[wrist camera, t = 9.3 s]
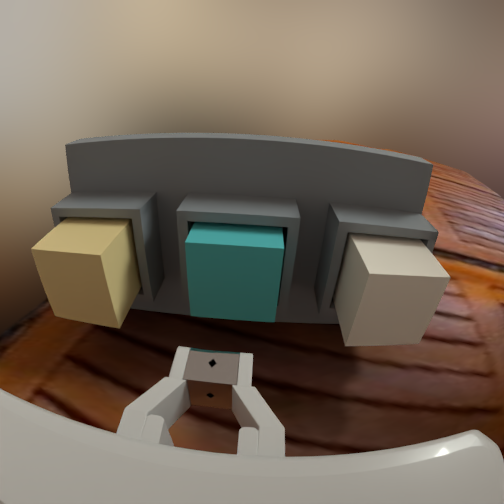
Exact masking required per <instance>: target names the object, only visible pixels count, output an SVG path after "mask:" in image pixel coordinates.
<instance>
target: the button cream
mask: <svg viewBox="0 0 504 504" xmlns="http://www.w3.org/2000/svg"><path fill="white" fill-rule="evenodd" d="M449 280H450V276H449V275H448V273H447V272H446V271H445V270H444V268H443V267H442V266H441V264H440V263H439V262H438V261H437V259H436V258H435V257H434V256H433V254H432V253H431V252H430V251H429V249H428V248H427V247H426V246H425V245H424V243H423V242H422V241H421V240H420V239H416V238H407V237H396V236H386V235H375V234H365V233H353V232H348V234H347V239H346V244H345V248H344V253H343V257H342V261H341V266H340V270H339V274H338V278H337V282H336V286H335V290H334V294H333V301H334V304H335V308H336V312H337V316H338V320H339V324H340V328H341V332H342V336H343V340H344V344H345V346H384V345H407V344H419V342H420V340H421V338H422V336H423V334H424V332H425V331H426V329H427V327H428V325H429V323H430V321H431V319H432V317H433V315H434V313H435V311H436V309H437V306H438V304H439V302H440V300H441V298H442V296H443V293H444V291H445V289H446V287H447V284H448V282H449Z"/></svg>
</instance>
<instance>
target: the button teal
mask: <svg viewBox="0 0 504 504" xmlns="http://www.w3.org/2000/svg"><path fill="white" fill-rule="evenodd" d="M185 251H186V266H187V279H188V291H189V302H190V313H191V316H197V317H207V318H219V319H231V320H245V321H260V322H275V316H276V309H277V302H278V294H279V286H280V279H281V271H282V263H283V255H284V242H283V232H282V227H277V226H263V225H247V224H231V223H214V222H196V221H195V222H194V224H193V227H192V229H191V231H190V233H189V235H188V237H187V239H186V241H185Z"/></svg>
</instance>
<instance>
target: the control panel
mask: <svg viewBox="0 0 504 504" xmlns="http://www.w3.org/2000/svg"><path fill="white" fill-rule="evenodd" d="M65 146H66V156H67V164H68V173H69V180H70V187H71V194H70V195H68V196H67V197H65V198H64V199H62V200H61V201H60V202H59V203H57V204H56V205H54V206H53V207H52V208H51V212H52V217H53V221H54V226H55V227H56V226H57V225H59V224H60V223H61V222H62V221H63V220H65V219H66V218H67V217H100V218H130V219H132V224H133V231H134V239H135V246H136V252H137V259H138V265H139V271H140V276H141V282H142V287H141V288H140V290H139V292H138V294H137V296H136V298H135V300H134V302H133V304H132V305H131V307H130V308H132V309H140V310H148V311H156V312H165V313H174V314H183V315H191V313H190V302H189V291H188V279H187V266H186V251H185V241H186V239H187V237H188V235H189V233H190V231H191V229H192V227H193V224H194V222H195V221H196V222H214V223H231V224H247V225H263V226H277V227H282V232H283V242H284V255H283V263H282V271H281V279H280V286H279V294H278V302H277V309H276V316H275V322H292V323H320V324H339V320H338V316H337V312H336V308H335V304H334V301H333V294H334V290H335V286H336V282H337V278H338V274H339V270H340V266H341V261H342V257H343V253H344V248H345V244H346V239H347V234H348V232H353V233H365V234H375V235H386V236H396V237H407V238H416V239H420V240H421V241H422V242H423V243H424V245H425V246H426V247H427V248H428V249H429V251H430V252H431V253H432V251H433V248H434V245H435V242H436V239H437V236H438V233H439V232H438V231H437V230H436V229H435V228H434V227H433V226H432V225H431V224H430V223H429V222H428V221H427V220H426V219H425V218H424V217H423V216H422V215H421V214H422V210H423V206H424V203H425V199H426V195H427V190H428V186H429V182H430V177H431V173H432V168H433V164H431V163H429V162H427V161H426V160H424V159H422V158H420V157H415V156H411V155H406V154H401V153H396V152H391V151H386V150H380V149H374V148H368V147H362V146H356V145H349V144H342V143H335V142H327V141H319V140H310V139H300V138H291V137H279V136H265V135H248V134H225V133H157V134H134V135H118V136H107V137H106V136H105V137H94V138H84V139H79V140H76V141H73V142H71V143H68V144H66V145H65Z"/></svg>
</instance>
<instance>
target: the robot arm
mask: <svg viewBox="0 0 504 504" xmlns="http://www.w3.org/2000/svg"><path fill="white" fill-rule="evenodd" d="M252 366H253V354H251V353H240V352H227V351H212V350H204V349H197V348H189V347H182V346H179V347H178V348H177V350H176V353H175V357H174V360H173V364H172V367H171V370H170V374H169V377H164V378H163V379H162V380H160V381H159V382H158V383H157V384H155V385H154V386H153V387H151V388H150V389H149V390H148V391H146V392H145V393H144V394H142V395H141V396H140V397H139V398H137V399H136V400H135V401H133V402H132V403H131V404H129V405H128V406H127V407H126V408H125V410H124V413H123V415H122V418H121V421H120V424H119V427H118V430H117V433H112V432H109V431H105V430H102V429H99V428H95V427H92V426H89V425H86V424H83V423H80V422H77V421H74V420H71V419H69V418H66V417H63V416H60V415H58V414H55V413H53V412H50V411H48V410H45V409H43V408H40V407H38V406H36V405H33V404H31V403H29V402H27V401H25V400H22V399H20V398H18V397H16V396H14V395H12V394H10V393H8V392H6V391H4V390H2V389H0V504H504V460H503V457H502V454H501V451H500V449H499V447H498V446H497V444H495V443H494V442H493V441H492V440H491V439H489V438H488V437H487V436H486V435H484V434H483V433H481V432H480V431H478V430H469V431H466V432H462V433H459V434H455V435H452V436H448V437H444V438H440V439H436V440H432V441H428V442H423V443H419V444H414V445H409V446H403V447H398V448H392V449H385V450H379V451H371V452H363V453H354V454H343V455H329V456H305V457H285V428H284V427H283V425H282V424H281V423H280V421H279V420H278V418H277V417H276V416H275V414H274V413H273V412H272V410H271V409H270V407H269V406H268V405H267V403H266V402H265V400H264V399H263V398H262V396H261V395H260V393H259V392H258V390H257V389H256V388H255V387H251V383H252ZM191 405H197V406H207V407H216V408H224V409H232V411H233V413H234V415H235V417H236V419H237V420H238V422H239V424H240V426H241V429H239V439H238V448H237V455H236V454H225V453H215V452H207V451H199V450H192V449H186V448H180V447H174V444H173V442H172V439H171V436H170V434H169V431H168V429H169V428H170V427H171V426H172V425H173V424H174V423H175V422H176V421H177V420H178V419H179V418H180V417H181V416H182V415H183V413H184V412H185V411H186V410H187V409H188V408H189V407H190V406H191Z"/></svg>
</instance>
